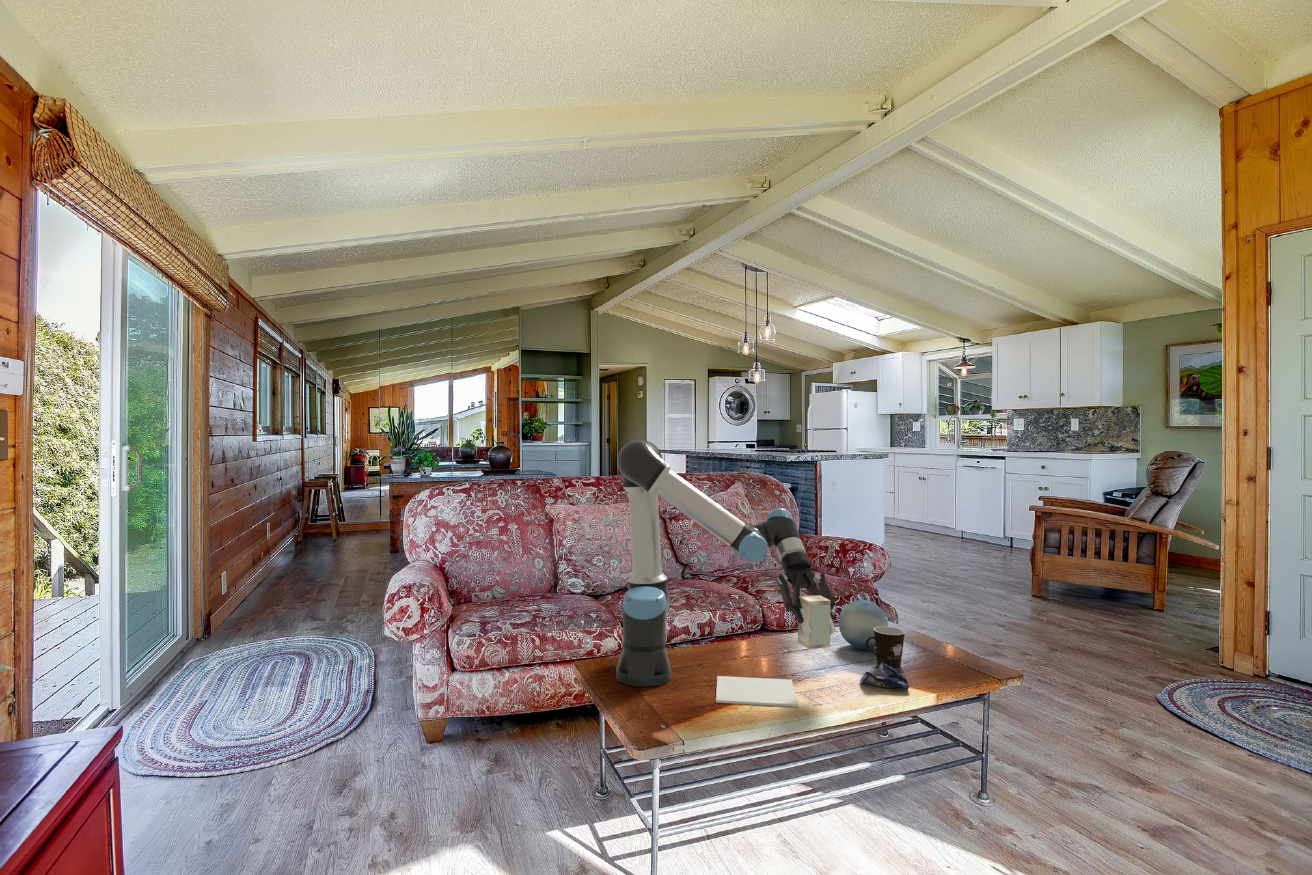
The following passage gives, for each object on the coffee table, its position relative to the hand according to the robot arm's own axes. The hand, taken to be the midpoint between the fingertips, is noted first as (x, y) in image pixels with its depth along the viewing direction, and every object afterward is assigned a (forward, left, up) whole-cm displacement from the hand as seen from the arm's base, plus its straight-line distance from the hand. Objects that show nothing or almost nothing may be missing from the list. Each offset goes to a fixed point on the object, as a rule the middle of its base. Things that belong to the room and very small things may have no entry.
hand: (820, 633), depth 168 cm
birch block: (-1, +3, -4) cm, 5 cm away
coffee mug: (+22, +27, -16) cm, 39 cm away
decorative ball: (+19, +42, -16) cm, 49 cm away
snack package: (+19, +10, -17) cm, 27 cm away
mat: (-16, +1, -16) cm, 23 cm away
